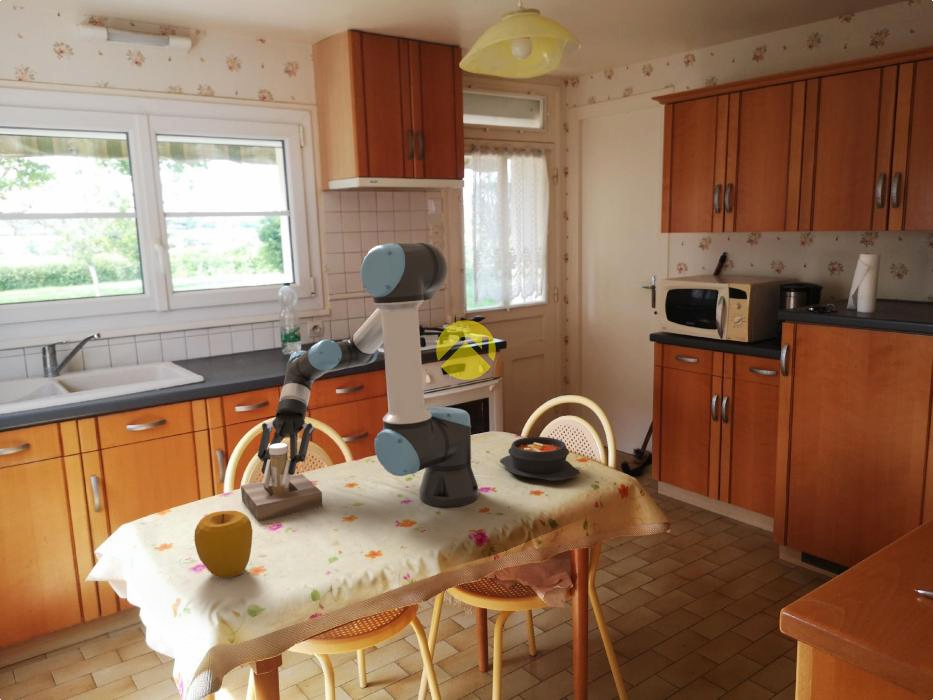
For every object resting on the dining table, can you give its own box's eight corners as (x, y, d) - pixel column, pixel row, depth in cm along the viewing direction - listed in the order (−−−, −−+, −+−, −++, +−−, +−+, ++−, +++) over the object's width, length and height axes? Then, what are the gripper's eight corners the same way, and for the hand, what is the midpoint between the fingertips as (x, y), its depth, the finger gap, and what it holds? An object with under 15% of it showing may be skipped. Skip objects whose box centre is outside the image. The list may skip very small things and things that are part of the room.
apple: (186, 581, 138) (180, 520, 136) (223, 558, 148) (218, 500, 146) (231, 591, 134) (226, 527, 132) (266, 565, 144) (262, 506, 142)
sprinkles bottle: (290, 498, 176) (287, 447, 173) (271, 500, 175) (268, 448, 172) (290, 492, 180) (287, 441, 178) (272, 494, 179) (269, 443, 177)
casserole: (594, 476, 193) (595, 447, 192) (546, 493, 182) (546, 461, 180) (532, 455, 213) (531, 428, 211) (484, 468, 201) (484, 440, 200)
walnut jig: (322, 507, 175) (321, 491, 174) (257, 521, 167) (256, 505, 166) (302, 487, 188) (301, 473, 188) (241, 500, 180) (240, 485, 180)
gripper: (328, 411, 189) (313, 492, 175) (266, 411, 190) (245, 491, 177) (321, 397, 182) (305, 479, 169) (257, 397, 184) (235, 478, 171)
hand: (274, 485), depth 173 cm, fingers closed on sprinkles bottle, 4 cm apart
